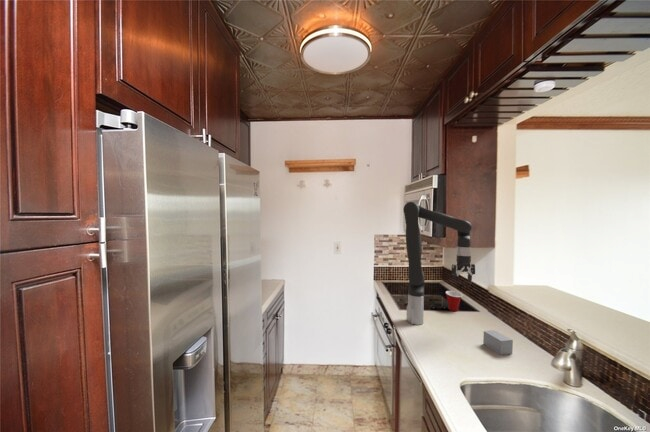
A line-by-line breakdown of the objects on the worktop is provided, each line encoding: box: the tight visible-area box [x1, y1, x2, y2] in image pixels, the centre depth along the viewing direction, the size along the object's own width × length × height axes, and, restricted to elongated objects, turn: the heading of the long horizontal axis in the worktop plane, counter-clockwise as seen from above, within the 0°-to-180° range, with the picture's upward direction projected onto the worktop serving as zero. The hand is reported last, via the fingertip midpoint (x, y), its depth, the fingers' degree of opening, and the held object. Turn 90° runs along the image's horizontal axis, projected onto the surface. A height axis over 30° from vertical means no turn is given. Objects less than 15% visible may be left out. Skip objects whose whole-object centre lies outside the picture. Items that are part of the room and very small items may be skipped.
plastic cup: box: [445, 290, 463, 312], centre depth 187 cm, size 11×11×12 cm
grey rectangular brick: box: [482, 329, 514, 356], centre depth 134 cm, size 7×11×7 cm, turn 12°
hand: (463, 281), depth 156 cm, fingers open, 8 cm apart
